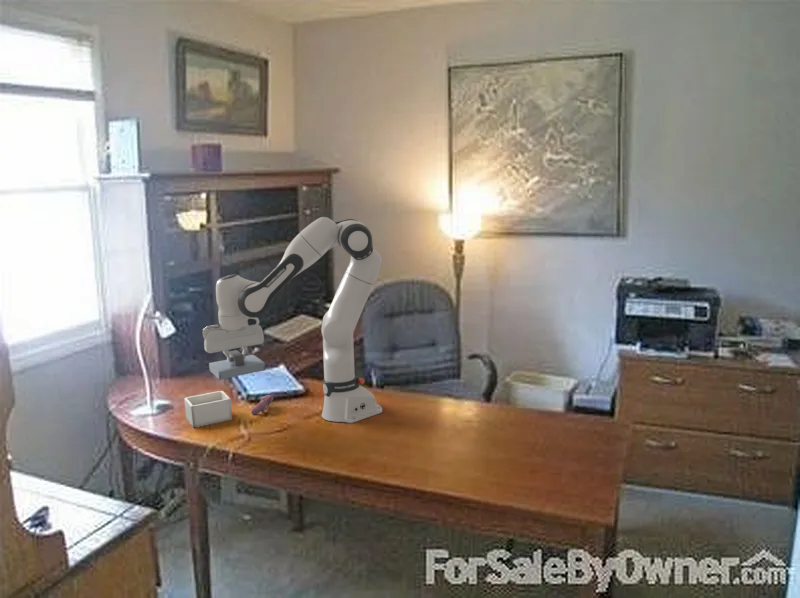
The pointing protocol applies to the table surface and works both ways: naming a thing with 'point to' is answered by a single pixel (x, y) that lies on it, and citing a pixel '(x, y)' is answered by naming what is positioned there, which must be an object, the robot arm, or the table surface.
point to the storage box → (208, 408)
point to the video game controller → (262, 404)
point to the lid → (236, 365)
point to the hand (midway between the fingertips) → (236, 360)
